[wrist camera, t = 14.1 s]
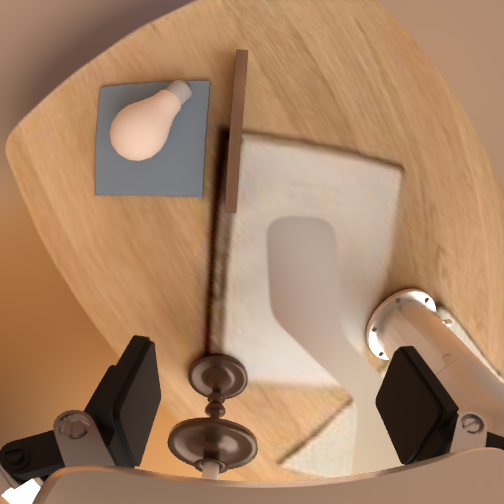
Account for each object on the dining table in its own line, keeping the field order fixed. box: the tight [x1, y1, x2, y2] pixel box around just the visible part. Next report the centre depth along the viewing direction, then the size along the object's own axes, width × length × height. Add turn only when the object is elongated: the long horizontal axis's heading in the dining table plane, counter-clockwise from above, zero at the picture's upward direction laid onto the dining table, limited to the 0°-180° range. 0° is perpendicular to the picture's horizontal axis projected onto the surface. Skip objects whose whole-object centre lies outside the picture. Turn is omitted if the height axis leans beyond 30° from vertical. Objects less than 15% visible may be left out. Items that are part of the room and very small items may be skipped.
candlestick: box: [168, 354, 258, 480], centre depth 27 cm, size 11×11×35 cm
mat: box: [95, 81, 210, 197], centre depth 32 cm, size 14×14×1 cm
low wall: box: [225, 50, 248, 213], centre depth 31 cm, size 1×18×4 cm, turn 176°
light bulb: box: [110, 80, 192, 161], centre depth 29 cm, size 7×7×11 cm
